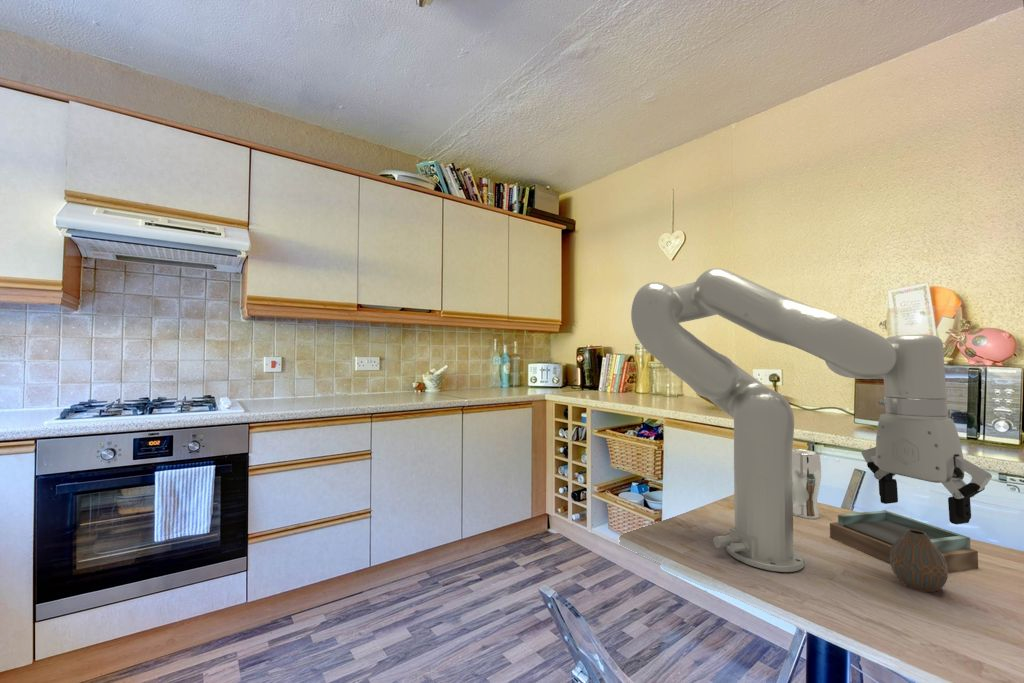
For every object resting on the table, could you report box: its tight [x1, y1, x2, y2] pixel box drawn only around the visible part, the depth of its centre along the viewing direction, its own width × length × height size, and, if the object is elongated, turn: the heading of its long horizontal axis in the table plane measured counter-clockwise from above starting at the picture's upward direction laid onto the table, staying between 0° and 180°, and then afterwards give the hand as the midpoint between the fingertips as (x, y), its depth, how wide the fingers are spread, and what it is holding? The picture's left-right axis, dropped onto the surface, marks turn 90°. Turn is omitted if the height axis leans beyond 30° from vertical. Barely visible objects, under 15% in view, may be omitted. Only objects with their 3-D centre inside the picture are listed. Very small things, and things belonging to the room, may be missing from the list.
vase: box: [889, 529, 949, 593], centre depth 69 cm, size 7×7×9 cm
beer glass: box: [792, 448, 822, 520], centre depth 101 cm, size 7×7×15 cm
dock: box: [829, 509, 979, 574], centre depth 81 cm, size 14×16×5 cm
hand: (922, 512), depth 69 cm, fingers open, 9 cm apart
